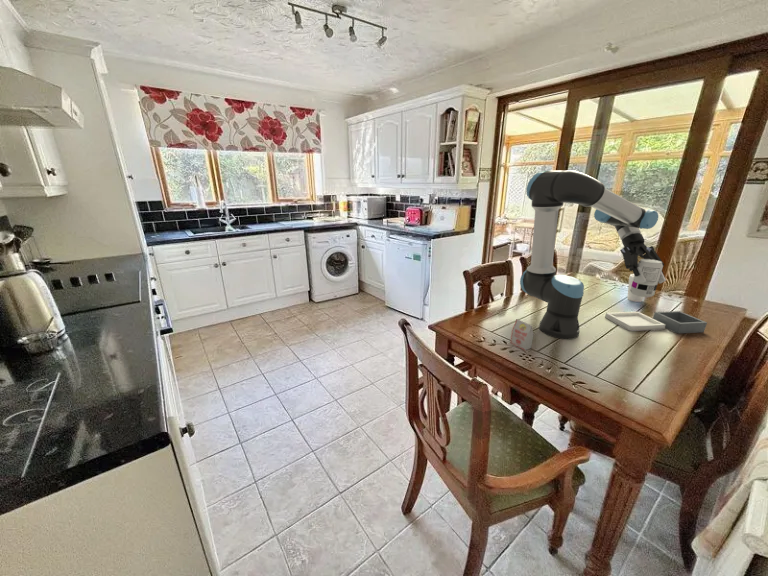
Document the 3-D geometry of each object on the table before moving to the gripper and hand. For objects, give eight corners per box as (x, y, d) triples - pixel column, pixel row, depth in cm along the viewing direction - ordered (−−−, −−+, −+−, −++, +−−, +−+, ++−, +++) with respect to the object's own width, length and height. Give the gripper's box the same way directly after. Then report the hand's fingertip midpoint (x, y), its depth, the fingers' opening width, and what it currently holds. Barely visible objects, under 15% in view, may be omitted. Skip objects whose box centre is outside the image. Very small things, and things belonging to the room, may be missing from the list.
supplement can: (625, 292, 138) (634, 259, 133) (638, 290, 141) (648, 257, 136) (644, 298, 131) (654, 264, 126) (658, 296, 133) (669, 262, 128)
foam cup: (638, 296, 171) (644, 274, 166) (650, 303, 162) (657, 279, 158) (619, 296, 171) (625, 273, 167) (630, 302, 163) (637, 279, 158)
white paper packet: (516, 340, 126) (519, 318, 123) (531, 347, 121) (535, 324, 117) (510, 342, 125) (513, 320, 121) (524, 350, 119) (528, 326, 116)
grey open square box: (677, 333, 131) (680, 323, 129) (651, 321, 142) (654, 312, 141) (703, 332, 132) (707, 322, 130) (676, 320, 143) (679, 311, 142)
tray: (629, 331, 133) (630, 326, 132) (604, 317, 146) (606, 312, 146) (664, 329, 134) (665, 324, 134) (636, 315, 148) (638, 311, 147)
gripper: (646, 241, 144) (668, 285, 135) (603, 242, 143) (622, 287, 133) (659, 231, 138) (684, 277, 128) (615, 232, 136) (636, 279, 126)
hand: (652, 282), depth 130 cm, fingers closed on supplement can, 8 cm apart
